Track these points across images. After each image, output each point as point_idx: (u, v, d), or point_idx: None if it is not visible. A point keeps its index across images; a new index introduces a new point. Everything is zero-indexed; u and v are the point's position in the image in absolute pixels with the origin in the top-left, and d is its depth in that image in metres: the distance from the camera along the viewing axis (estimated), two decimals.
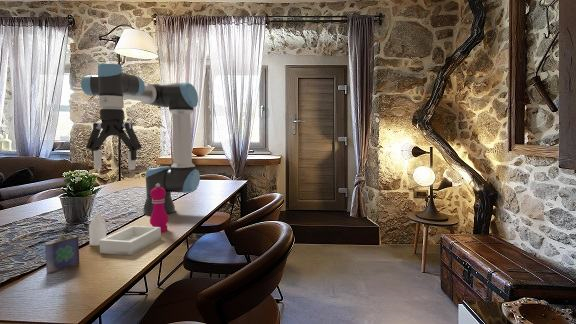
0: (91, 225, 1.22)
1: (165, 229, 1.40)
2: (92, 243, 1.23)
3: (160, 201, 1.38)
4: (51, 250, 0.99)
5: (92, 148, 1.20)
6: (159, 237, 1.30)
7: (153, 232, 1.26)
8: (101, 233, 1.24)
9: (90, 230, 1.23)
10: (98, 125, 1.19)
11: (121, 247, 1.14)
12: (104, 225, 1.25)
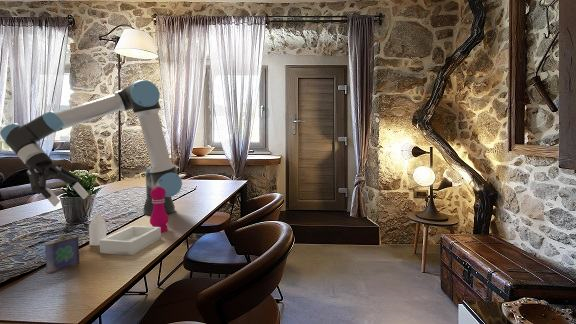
0: (91, 225, 1.22)
1: (165, 229, 1.40)
2: (92, 243, 1.23)
3: (160, 201, 1.38)
4: (51, 250, 0.99)
5: None
6: (159, 237, 1.30)
7: (153, 232, 1.26)
8: (101, 233, 1.24)
9: (90, 230, 1.23)
10: None
11: (121, 247, 1.14)
12: (104, 225, 1.25)
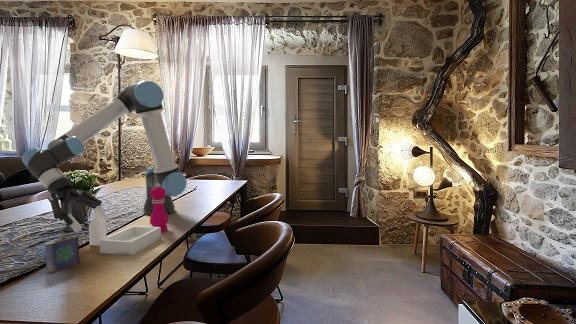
0: (91, 225, 1.22)
1: (165, 229, 1.40)
2: (92, 243, 1.23)
3: (160, 201, 1.38)
4: (51, 250, 0.99)
5: None
6: (159, 237, 1.30)
7: (153, 232, 1.26)
8: (101, 233, 1.24)
9: (90, 230, 1.23)
10: None
11: (121, 247, 1.14)
12: (104, 225, 1.25)
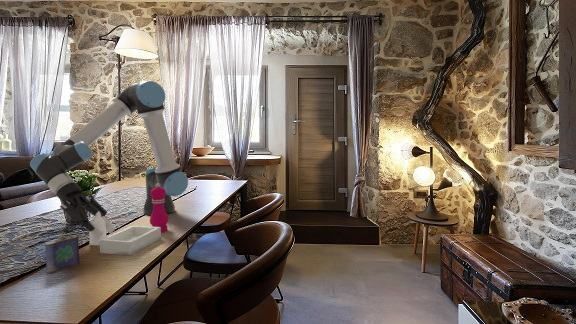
0: None
1: (165, 229, 1.40)
2: (92, 243, 1.23)
3: (160, 201, 1.38)
4: (51, 250, 0.99)
5: None
6: (159, 237, 1.30)
7: (153, 232, 1.26)
8: None
9: None
10: None
11: (121, 247, 1.14)
12: (104, 225, 1.25)
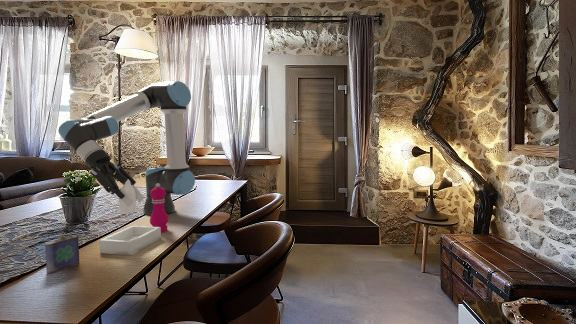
0: None
1: (165, 229, 1.40)
2: (122, 211, 1.19)
3: (160, 201, 1.38)
4: (51, 250, 0.99)
5: None
6: (159, 237, 1.30)
7: (153, 232, 1.26)
8: None
9: None
10: None
11: (121, 247, 1.14)
12: (134, 193, 1.21)
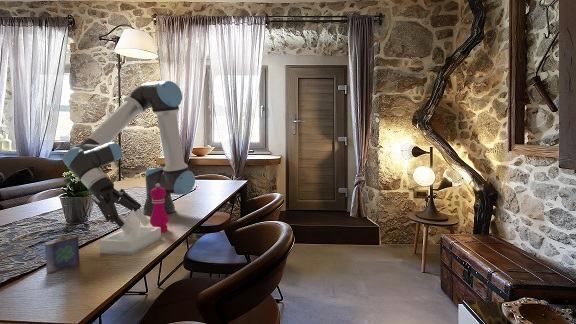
0: None
1: (165, 229, 1.40)
2: None
3: (160, 201, 1.38)
4: (51, 250, 0.99)
5: None
6: (159, 237, 1.30)
7: (153, 232, 1.26)
8: (136, 232, 1.21)
9: None
10: None
11: (121, 247, 1.14)
12: (138, 223, 1.22)
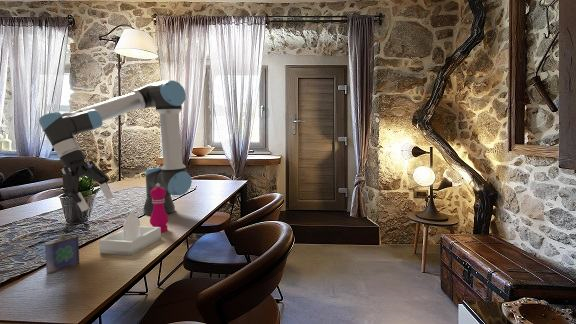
0: (126, 223, 1.20)
1: (165, 229, 1.40)
2: None
3: (160, 201, 1.38)
4: (51, 250, 0.99)
5: None
6: (159, 237, 1.30)
7: (153, 232, 1.26)
8: (136, 232, 1.21)
9: (125, 229, 1.20)
10: None
11: (121, 247, 1.14)
12: (138, 223, 1.22)
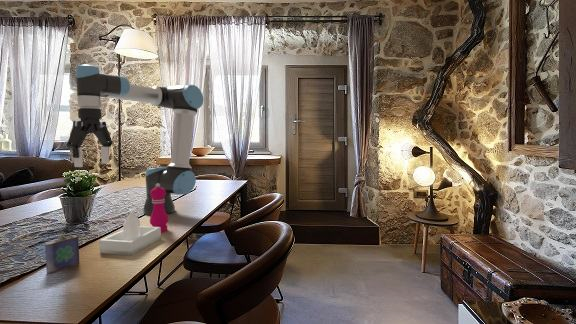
0: (126, 223, 1.20)
1: (165, 229, 1.40)
2: None
3: (160, 201, 1.38)
4: (51, 250, 0.99)
5: None
6: (159, 237, 1.30)
7: (153, 232, 1.26)
8: (136, 232, 1.21)
9: (125, 229, 1.20)
10: None
11: (121, 247, 1.14)
12: (138, 223, 1.22)
